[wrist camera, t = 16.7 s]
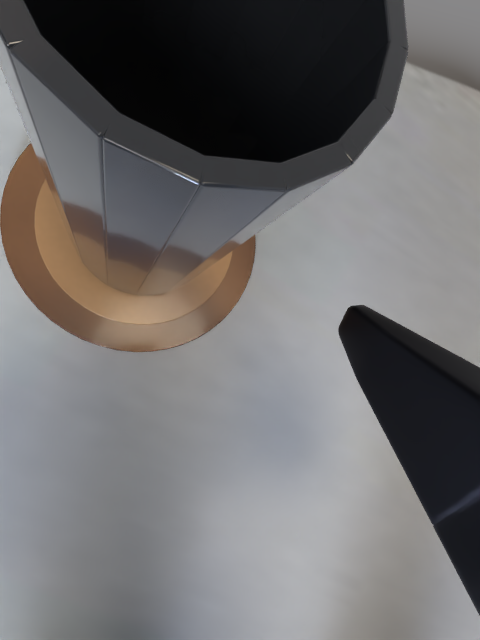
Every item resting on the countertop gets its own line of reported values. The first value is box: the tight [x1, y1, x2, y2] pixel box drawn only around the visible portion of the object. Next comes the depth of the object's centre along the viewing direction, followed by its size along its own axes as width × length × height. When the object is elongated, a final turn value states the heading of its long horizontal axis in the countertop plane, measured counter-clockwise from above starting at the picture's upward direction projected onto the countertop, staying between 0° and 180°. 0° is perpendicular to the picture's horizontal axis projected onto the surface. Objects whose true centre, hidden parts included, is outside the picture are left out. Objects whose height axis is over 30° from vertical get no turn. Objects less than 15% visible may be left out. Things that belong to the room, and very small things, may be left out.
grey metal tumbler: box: [0, 0, 408, 296], centre depth 10 cm, size 6×6×12 cm
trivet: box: [0, 144, 255, 352], centre depth 16 cm, size 11×11×1 cm
